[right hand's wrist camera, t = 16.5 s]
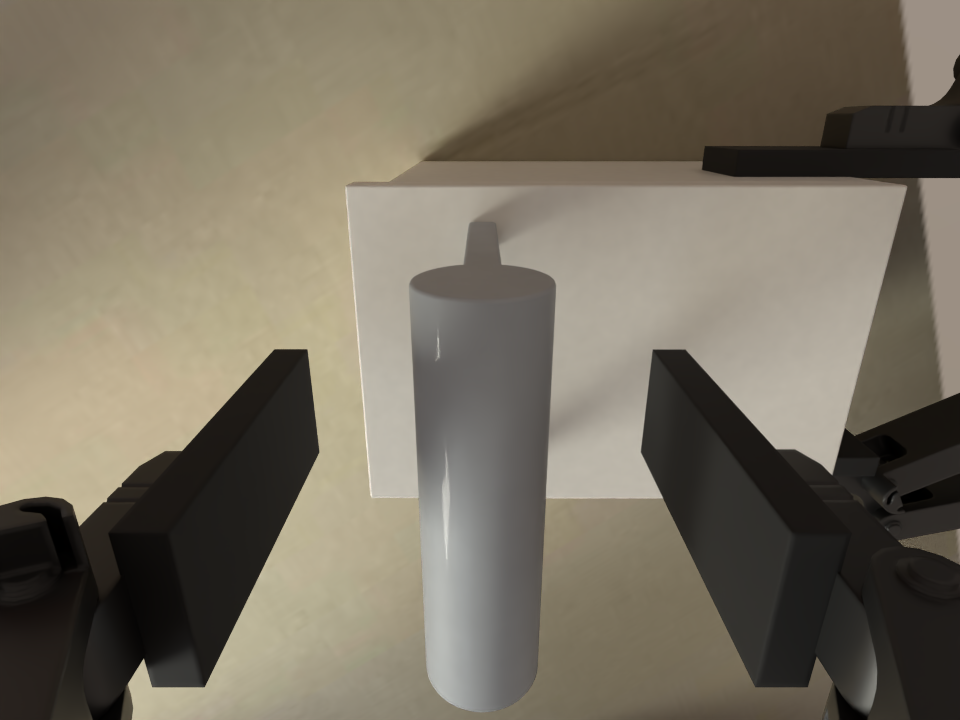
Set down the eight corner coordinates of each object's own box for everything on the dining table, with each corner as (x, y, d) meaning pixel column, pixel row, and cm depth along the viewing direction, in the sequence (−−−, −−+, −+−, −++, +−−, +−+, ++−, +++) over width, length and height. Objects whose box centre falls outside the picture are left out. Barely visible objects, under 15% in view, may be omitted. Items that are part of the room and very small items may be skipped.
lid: (375, 482, 19) (298, 741, 11) (351, 181, 15) (214, 243, 8) (812, 482, 19) (1050, 743, 11) (886, 181, 15) (1314, 243, 8)
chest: (427, 372, 27) (404, 481, 19) (420, 161, 24) (387, 181, 16) (710, 372, 27) (811, 482, 19) (743, 161, 24) (885, 181, 15)
